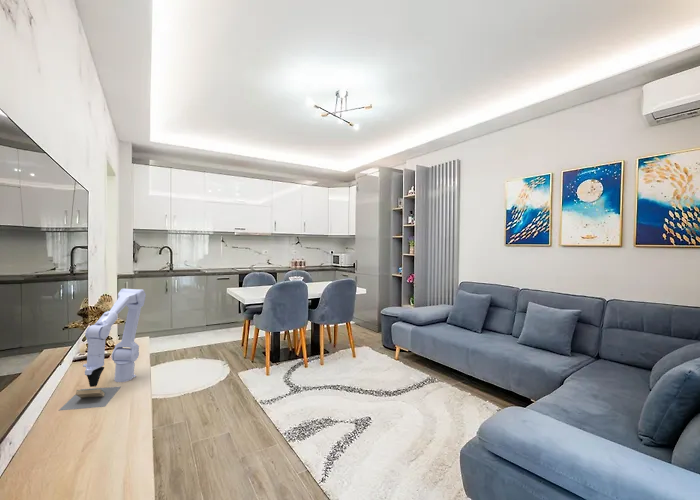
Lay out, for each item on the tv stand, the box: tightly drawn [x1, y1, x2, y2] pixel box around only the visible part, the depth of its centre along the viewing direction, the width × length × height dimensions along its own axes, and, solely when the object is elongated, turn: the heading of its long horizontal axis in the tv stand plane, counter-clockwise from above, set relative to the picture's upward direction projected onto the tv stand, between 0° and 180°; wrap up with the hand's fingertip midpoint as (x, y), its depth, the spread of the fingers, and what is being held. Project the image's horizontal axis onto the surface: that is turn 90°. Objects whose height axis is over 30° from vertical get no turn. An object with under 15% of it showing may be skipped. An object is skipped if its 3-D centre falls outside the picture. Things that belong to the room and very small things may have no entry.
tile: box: [74, 388, 105, 398], centre depth 135 cm, size 2×8×7 cm
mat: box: [58, 386, 121, 411], centre depth 137 cm, size 20×15×1 cm
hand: (93, 386), depth 137 cm, fingers closed
